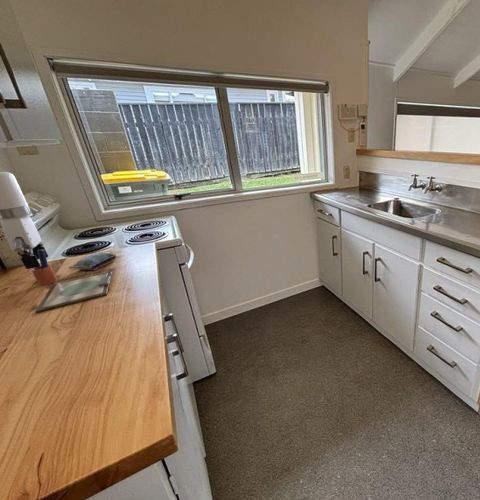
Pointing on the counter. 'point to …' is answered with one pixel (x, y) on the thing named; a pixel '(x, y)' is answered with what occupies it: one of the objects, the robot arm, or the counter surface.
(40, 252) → the pen
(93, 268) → the packaged food
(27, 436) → the counter surface
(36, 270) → the pen cup
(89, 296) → the clipboard
